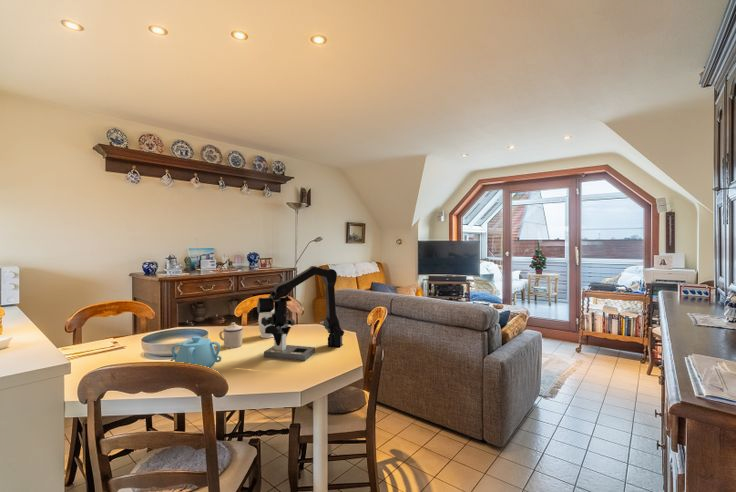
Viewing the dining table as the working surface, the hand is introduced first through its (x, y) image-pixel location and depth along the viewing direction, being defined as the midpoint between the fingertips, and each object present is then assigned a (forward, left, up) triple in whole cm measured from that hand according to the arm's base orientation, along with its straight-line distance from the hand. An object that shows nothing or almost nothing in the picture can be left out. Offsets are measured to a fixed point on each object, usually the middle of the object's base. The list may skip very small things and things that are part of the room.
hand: (280, 344), depth 160 cm
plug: (0, 0, -4) cm, 4 cm away
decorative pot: (+25, +25, -5) cm, 36 cm away
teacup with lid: (+31, -7, -5) cm, 32 cm away
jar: (+21, -27, -5) cm, 35 cm away
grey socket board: (-5, 0, -5) cm, 7 cm away
